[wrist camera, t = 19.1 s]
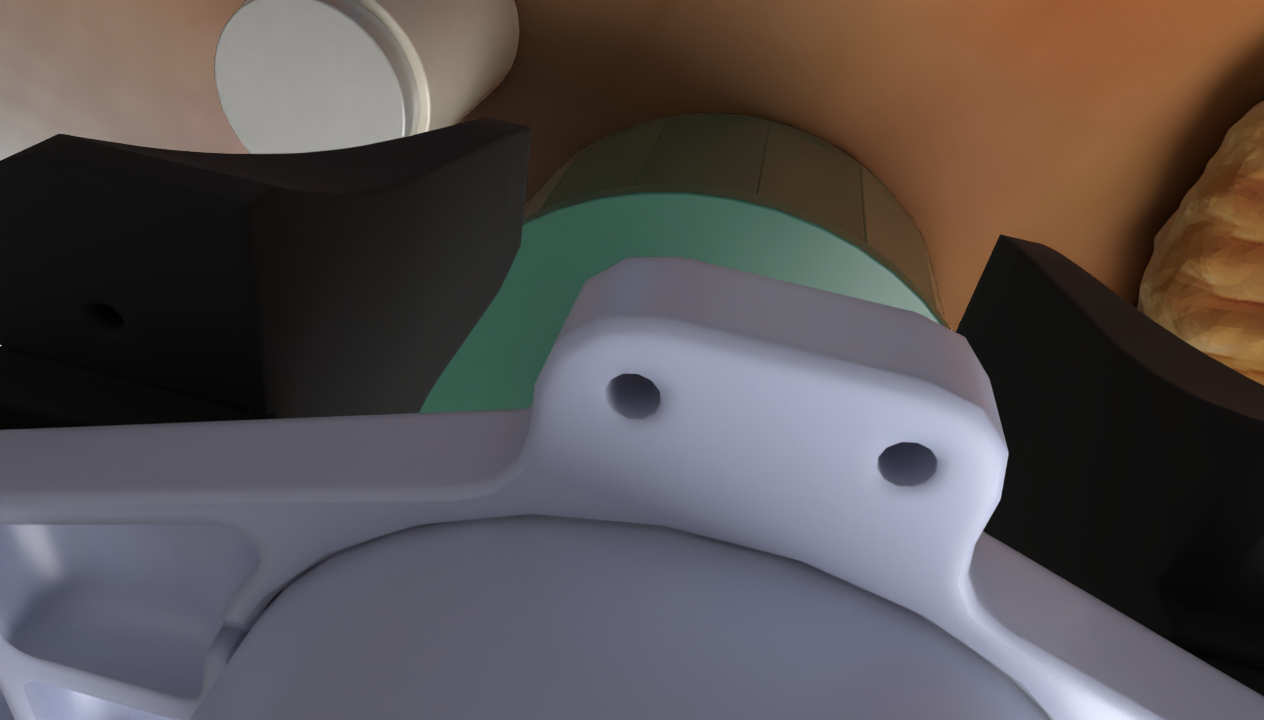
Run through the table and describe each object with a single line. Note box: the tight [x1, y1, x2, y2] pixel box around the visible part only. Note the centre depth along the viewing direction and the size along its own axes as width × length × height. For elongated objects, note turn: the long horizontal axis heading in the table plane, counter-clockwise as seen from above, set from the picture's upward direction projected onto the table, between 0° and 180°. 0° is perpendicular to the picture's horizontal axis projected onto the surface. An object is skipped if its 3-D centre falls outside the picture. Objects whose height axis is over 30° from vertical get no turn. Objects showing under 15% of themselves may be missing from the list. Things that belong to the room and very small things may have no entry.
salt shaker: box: [214, 0, 519, 154], centre depth 20 cm, size 4×4×7 cm
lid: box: [419, 184, 951, 413], centre depth 20 cm, size 14×14×6 cm
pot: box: [523, 113, 945, 319], centre depth 24 cm, size 13×13×6 cm
